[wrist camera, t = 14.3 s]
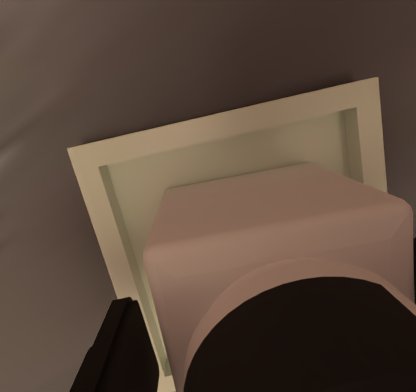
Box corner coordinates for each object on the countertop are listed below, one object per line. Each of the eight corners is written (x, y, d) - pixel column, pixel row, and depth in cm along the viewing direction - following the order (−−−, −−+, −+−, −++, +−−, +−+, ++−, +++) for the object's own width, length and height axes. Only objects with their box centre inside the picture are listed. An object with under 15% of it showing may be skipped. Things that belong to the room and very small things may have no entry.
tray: (81, 144, 15) (66, 148, 13) (355, 81, 14) (378, 76, 13) (154, 369, 18) (150, 396, 16) (378, 319, 18) (399, 341, 16)
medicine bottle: (191, 318, 17) (190, 799, 5) (163, 187, 15) (53, 460, 3) (325, 293, 17) (638, 713, 5) (313, 160, 15) (764, 329, 3)
